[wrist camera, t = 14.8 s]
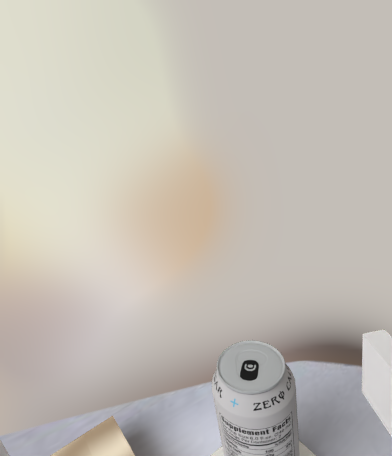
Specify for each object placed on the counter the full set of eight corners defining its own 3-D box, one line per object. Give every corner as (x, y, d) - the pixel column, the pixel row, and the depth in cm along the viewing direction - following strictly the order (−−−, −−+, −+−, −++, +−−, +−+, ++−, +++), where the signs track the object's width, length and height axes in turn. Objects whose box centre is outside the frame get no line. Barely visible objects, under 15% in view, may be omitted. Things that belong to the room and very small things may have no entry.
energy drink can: (302, 466, 31) (295, 337, 26) (302, 546, 26) (293, 405, 21) (238, 455, 33) (218, 332, 28) (226, 527, 28) (198, 393, 22)
